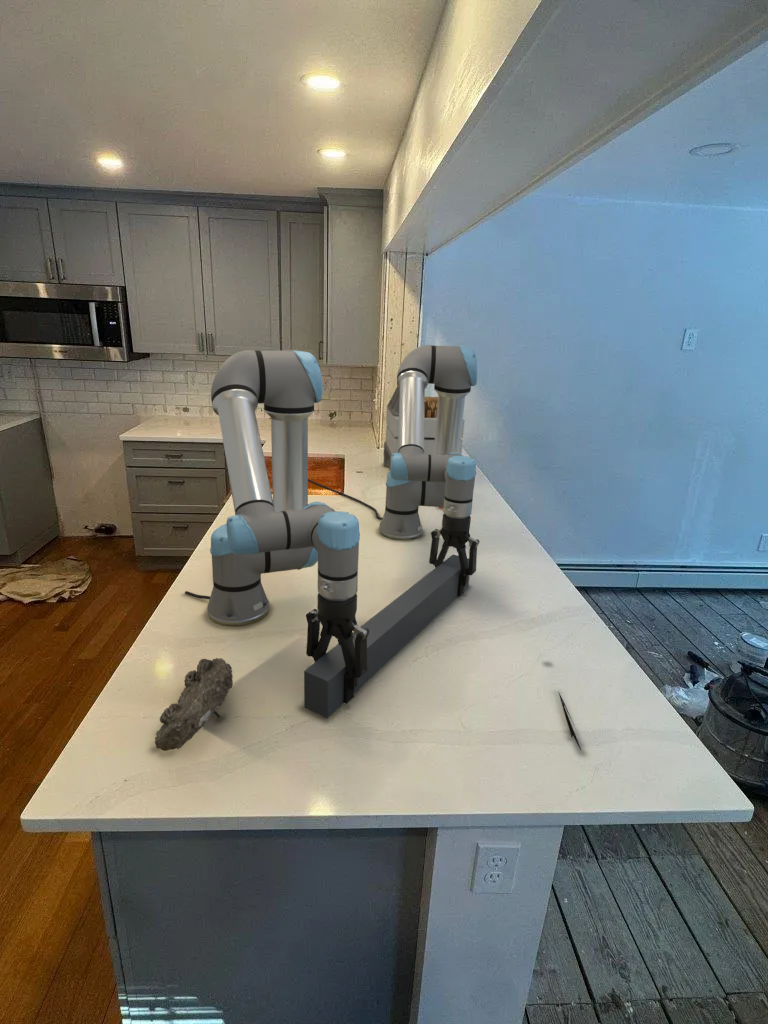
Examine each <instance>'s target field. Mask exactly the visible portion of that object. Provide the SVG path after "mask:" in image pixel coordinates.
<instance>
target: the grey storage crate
mask: <svg viewBox="0 0 768 1024" xmlns="http://www.w3.org/2000/svg"><path fill="white" fill-rule="evenodd" d="M399 399H400V389H399V388H398V386H397V385H396V388H395V390H394V392H393V394H392V395H391V398H390V400H389V402H388V404H387V405H386V413H385V414H386V415H385V423H386V428H385V438H384V442H383V466H384V467H388V468H389V471H390V470H391V455H392V454H393V453H398V430H399ZM437 406H438V396H425V409H424V454H427V455H433V454H434V442H435V430H436V418H437ZM464 429H465V419H464V418H463V422H462V431H461V441H460V450H459V454H461V455H462V453H463V442H464V441H463V440H462V439H463V438H464V431H465V430H464Z"/></svg>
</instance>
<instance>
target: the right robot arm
mask: <svg viewBox="0 0 768 1024" xmlns="http://www.w3.org/2000/svg"><path fill="white" fill-rule="evenodd" d="M429 384H430V385H434V386H433V387H434V388H433V390H434V391H435V392H436V393H437V395H438V396H437V397H438V406H437V418H436V430H435V442H434V454H433V455H427V454H424V409H425V397H426V396H425V394H426V393H425V392H426V389H427V387H428V385H429ZM477 384H478V360H477V354H476V351H475V350H474V349H473V348H472V347H470V346H469V347H468V346H461V345H431V344H425V345H421V346H418V347H416V348H414V349H413V350H411V351H410V352H409V353H408V354H407V355H406V356H405V357H404V358H403V360H402V361H401V363H400V365H399V367H398V370H397V373H396V387H397V386H398V388H399V389H400V399H399V430H398V453H393V454H392V455H391V470H390V469H389V471H388V473H387V475H386V482H385V486H386V488H385V489H386V490H385V504H384V505H385V507H384V508H385V509H384V513H383V515H382V517H381V516H380V515H379V513H378V510H377V509H376V508H375V507H373V506H371V505H370V504H368V503H365V501H362V500H360V499H358V498H356V497H354V496H351V495H349V494H346V493H344V492H341V491H338V490H336V489H333V488H330V487H328V486H325V485H322V484H321V483H318V482H316V481H313V480H312V479H310V478H308V483H311V484H313V485H316V486H318V487H320V488H323V489H325V490H328V491H331V492H332V493H335V494H339V495H341V496H343V497H346V498H348V499H351V500H353V501H355V502H357V503H359V504H361V505H363V506H365V507H367V508H369V509H371V510H372V511H373V512H374V513H375V517H376V518H377V519H378V520H380V521H381V522H379V527H378V533H379V534H380V535H381V536H382V537H385V538H387V539H389V540H395V541H410V540H415V539H418V538H420V537H421V536H422V535H423V525H422V524H421V518H420V515H419V507H433V508H434V507H435V508H439V507H444V508H442V509H443V510H442V512H443V514H442V521H441V529H438V528H435V529H433V530H431V532H430V537H431V544H430V552H429V558H428V563H429V564H430V565H433V566H434V569H435V568H436V567H437V566H439V565H440V564H441V563H443V562H444V561H445V558H446V556H447V554H448V552H449V549H450V547H451V548H454V549H455V550H456V553H457V556H459V561H460V566H461V571H462V573H461V574H460V575H459V583H458V593H457V596H458V597H457V598H460V597H461V596H463V594H464V592H465V590H464V586H465V585H467V583H468V576H469V575H470V576H473V575H474V574H475V573H476V571H477V557H478V548H479V547H478V546H479V544H480V540H479V539H478V538H476V539H474V538H473V537H471V534H470V528H471V522H472V521H471V520H472V517H471V515H472V513H473V512H472V511H473V500H474V499H473V498H474V489H475V481H476V475H477V462H476V459H474V458H473V457H470V456H465V455H463V454H462V453H461V454H459V450H460V441H461V440H462V438H461V431H462V422H463V419H464V412H465V411H464V410H465V403H466V402H465V401H466V397H467V395H469V394H470V393H471V391H472V387H474V386H477ZM441 537H442V540H443V542H442V546H441V548H440V552H439V546H440V539H441ZM466 543H468V547H469V550H468V551H469V552H468V556H467V550H466V549H467V545H466ZM438 552H439V553H438ZM467 558H468V559H469V565H468V560H467ZM470 576H469V577H470Z"/></svg>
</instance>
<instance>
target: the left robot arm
mask: <svg viewBox="0 0 768 1024" xmlns="http://www.w3.org/2000/svg"><path fill="white" fill-rule="evenodd" d="M323 385H324V384H323V377H322V372H321V368H320V365H319V363H318V360H317V358H316V357H315V356H314V355H313V353H311V352H309V351H304V350H303V351H301V350H294V349H293V350H292V349H291V350H284V349H283V350H282V349H281V350H254V349H247V350H241V351H238V352H235V353H234V354H232V355H230V356H229V357H228V358H227V359H226V360H225V361H224V362H223V363H222V364H221V366H220V367H219V368H218V370H217V371H216V373H215V376H214V378H213V381H212V384H211V389H210V400H211V406H212V410H213V412H214V413H215V415H217V416H218V418H219V424H220V430H221V431H220V432H221V437H222V443H223V449H224V454H225V460H226V461H225V463H226V467H227V474H228V478H229V479H228V480H229V484H230V485H229V486H230V491H231V497H232V504H233V509H234V515H230V516H228V517H227V519H226V523H225V524H222V525H220V526H219V527H217V528H215V530H213V532H212V534H211V535H210V549H209V551H210V554H211V569H212V570H211V571H212V584H213V586H212V590H211V593H210V595H202V594H197V593H193V592H191V591H187V590H185V591H184V594H185V595H187V596H189V597H193V598H197V599H203V600H208V603H207V608H206V609H207V612H206V613H207V617H208V619H209V620H210V621H211V622H212V623H214V624H216V625H219V626H222V627H230V628H237V627H239V628H240V627H246V626H251V625H253V624H256V623H258V622H260V621H262V620H263V619H265V618H266V617H267V615H268V614H269V613H270V612H269V611H270V602H269V599H268V596H267V594H266V591H265V589H264V587H263V584H262V574H269V573H279V572H287V571H293V570H296V571H297V570H298V571H300V570H303V569H307V568H312V567H314V566H315V565H316V564H317V592H318V593H317V609H316V608H313V609H312V610H310V611H309V612H307V613H306V614H305V618H306V619H305V620H306V622H307V633H306V649H305V650H306V652H305V653H306V656H307V657H309V658H310V657H311V658H312V659H313V662H314V663H315V662H316V661H317V660H318V659H320V658H321V657H322V656H324V655H325V654H326V653H327V652H328V650H329V646H330V643H331V640H332V637H334V638H335V639H336V641H337V645H338V644H339V645H341V649H342V653H343V657H344V661H345V666H346V670H347V673H346V674H345V675H344V697H343V703H344V705H348V703H349V702H351V700H352V699H354V698H355V694H354V688H355V687H357V685H358V678H359V677H361V676H362V675H363V674H364V673H365V672H366V671H367V637H368V634H369V629H368V628H364V629H362V628H361V626H359V625H358V621H357V619H356V614H357V610H358V594H357V593H358V589H359V588H358V583H359V582H358V581H359V551H360V539H361V533H360V520H359V519H358V517H357V516H356V515H354V514H353V513H349V512H347V511H342V510H341V511H338V510H335V509H334V508H332V507H330V506H329V505H328V504H327V503H324V502H321V501H312V502H309V500H308V499H309V481H308V479H309V473H308V472H309V418H310V417H311V415H312V414H313V413H314V412H315V404H318V403H320V402H322V400H323V394H324V386H323ZM259 404H263V411H264V413H266V414H267V415H268V416H269V417H270V427H271V428H270V431H271V433H270V434H271V439H270V440H271V470H272V471H271V476H272V477H271V479H272V483H271V484H272V489H271V484H270V479H269V475H268V469H267V465H266V458H265V455H264V450H263V444H262V440H261V434H260V430H259V425H258V420H257V419H258V418H257V414H256V410H257V408H258V407H259V406H258V405H259ZM320 627H321V630H320ZM353 632H354V633H355V636H354V639H355V648H354V644H353Z"/></svg>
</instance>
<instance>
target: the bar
mask: <svg viewBox="0 0 768 1024" xmlns="http://www.w3.org/2000/svg"><path fill="white" fill-rule="evenodd" d="M467 560H468V565H469V557H467ZM461 573H462V571H461V566H460V561H459V555H458V554H457V555H456V554H451V555H450V556H449V557H447V558H446V559H444V561H443V563H441V564H440V565H439V566H437V567H436V568H435V567H434V569H432V570H431V571H429V572H428V573H427V574H425V576H423V577H422V578H421V579H419V580H418V581H417V582H416V583H414V584H413V585H411V586H410V587H409V588H408V589H406V590H405V591H404V592H403V593H401V594H400V595H398V597H396V598H395V599H393V601H391V602H390V603H389V604H388V605H386V606H385V607H384V608H382V609H381V610H380V611H378V612H377V613H376V614H374V615H373V616H372V617H371V618H369V619H368V620H366V621H365V622H364V623H363V624H362V625H361V626H360V627H361V628H362V629H364V628H368V629H369V634H368V637H367V671H366V672H365V673H364V674H363V675H362V676H361V677H359V678H358V685H357V687H355V688H354V695H356V693H357V692H358V691H359V690H360V689H362V688H363V686H365V684H367V682H369V681H370V680H371V679H372V678H373V677H374V676H375V675H376V674H377V673H378V672H379V671H381V669H382V668H383V667H385V666H386V665H387V664H388V663H389V662H390V661H391V660H393V658H394V657H396V655H397V654H398V653H399V652H401V651H402V650H403V649H404V648H405V647H406V646H407V645H408V644H410V642H411V641H412V640H413V639H414V638H415V637H416V636H418V635H419V634H420V633H421V632H422V631H423V630H424V629H425V628H427V626H428V625H430V623H432V622H433V621H434V620H435V619H436V618H437V617H438V616H439V615H440V614H441V613H442V612H443V611H444V610H445V609H447V608H448V607H449V606H450V604H452V603H453V602H454V601H455V600H456V599H457V598H459V597H458V596H457V593H458V583H459V575H460V574H461ZM470 576H471V575H469V576H468V583H467V585H465V586H464V591H465V590H467V588H469V585H470V584H469V583H470ZM352 632H353V644H354V648H355V639H354V636H355V633H354V631H352ZM346 673H347V670H346V666H345V661H344V657H343V653H342V649H341V645H339V644H338V643H337V644H336V645H335V646H334V647H332V648H331V649H330V650H329V651H327V652H326V654H325V655H324V656H322V657H321V658H320V659H318V660H317V661H316V662H315V661H314V662H313V663H311V665H309V666H308V667H306V669H304V670H303V708H304V709H306V710H307V711H310V712H311V713H313V714H315V715H318V716H320V717H322V718H324V719H326V720H329V718H330V717H332V716H333V715H334V714H335V713H336V712H337V711H338V710H339V709H340V708H341V707H342V706H343V705H345V703H343V697H344V675H345V674H346Z"/></svg>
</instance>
